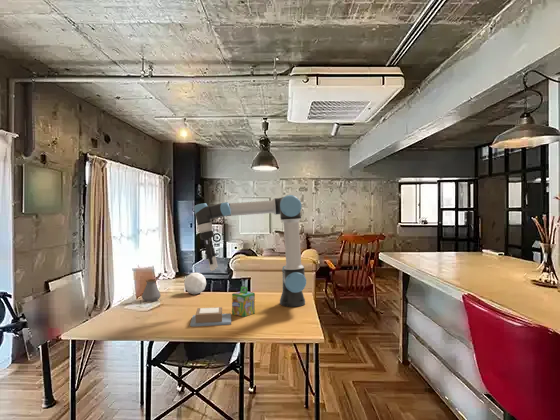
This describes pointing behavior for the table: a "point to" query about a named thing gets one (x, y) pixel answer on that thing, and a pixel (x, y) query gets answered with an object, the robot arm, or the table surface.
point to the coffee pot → (151, 290)
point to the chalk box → (243, 303)
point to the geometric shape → (195, 283)
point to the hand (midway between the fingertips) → (214, 269)
